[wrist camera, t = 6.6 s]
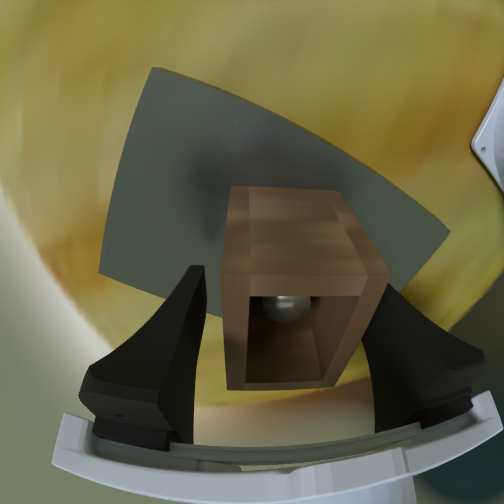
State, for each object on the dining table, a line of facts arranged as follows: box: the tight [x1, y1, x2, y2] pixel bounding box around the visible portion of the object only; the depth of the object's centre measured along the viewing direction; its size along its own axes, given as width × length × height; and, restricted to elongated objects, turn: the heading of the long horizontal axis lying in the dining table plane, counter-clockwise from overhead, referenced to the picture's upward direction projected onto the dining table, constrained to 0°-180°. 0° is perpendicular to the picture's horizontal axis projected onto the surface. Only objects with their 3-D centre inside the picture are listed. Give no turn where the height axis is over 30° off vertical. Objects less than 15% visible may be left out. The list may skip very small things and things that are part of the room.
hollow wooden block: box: [221, 186, 391, 391], centre depth 12 cm, size 5×7×6 cm
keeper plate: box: [99, 67, 451, 322], centre depth 13 cm, size 18×12×5 cm, turn 64°
